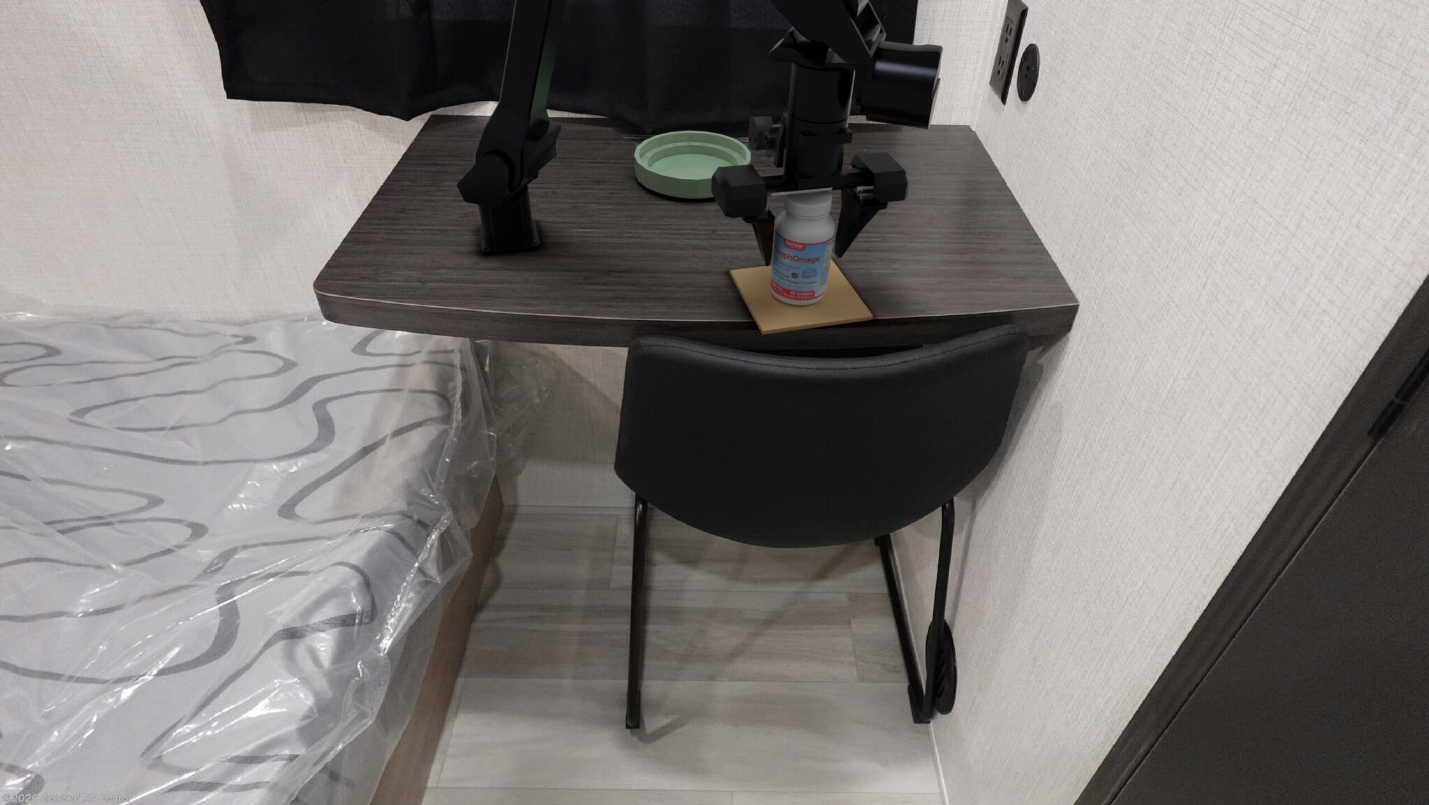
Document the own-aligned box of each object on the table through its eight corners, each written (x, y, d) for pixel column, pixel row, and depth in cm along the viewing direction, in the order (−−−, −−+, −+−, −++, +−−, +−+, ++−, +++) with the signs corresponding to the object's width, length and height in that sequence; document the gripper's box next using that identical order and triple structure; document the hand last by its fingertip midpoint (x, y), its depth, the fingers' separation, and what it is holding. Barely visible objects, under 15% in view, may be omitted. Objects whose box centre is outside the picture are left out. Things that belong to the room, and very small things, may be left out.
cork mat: (872, 319, 87) (873, 315, 86) (762, 334, 84) (762, 330, 84) (830, 261, 95) (831, 257, 95) (729, 273, 93) (729, 269, 93)
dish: (764, 196, 108) (765, 172, 106) (648, 207, 104) (647, 183, 102) (731, 148, 119) (732, 126, 117) (626, 157, 116) (625, 135, 114)
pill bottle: (761, 299, 88) (769, 201, 81) (779, 272, 92) (788, 176, 85) (817, 313, 86) (829, 214, 79) (832, 284, 91) (846, 188, 84)
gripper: (876, 75, 85) (855, 215, 95) (698, 87, 81) (696, 232, 91) (925, 116, 77) (897, 265, 87) (730, 132, 73) (723, 286, 83)
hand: (802, 260), depth 87 cm, fingers open, 8 cm apart
